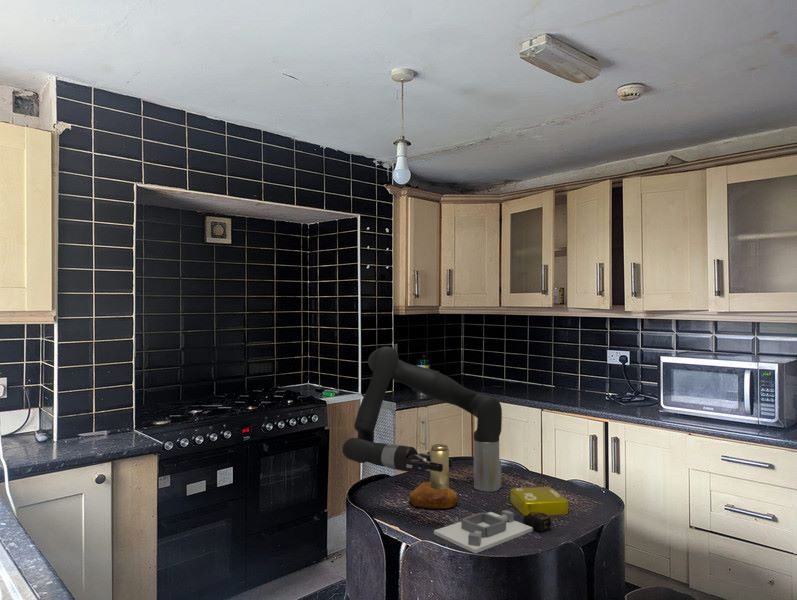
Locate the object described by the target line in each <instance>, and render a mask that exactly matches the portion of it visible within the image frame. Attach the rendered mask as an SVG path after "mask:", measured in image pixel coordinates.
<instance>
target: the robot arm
mask: <svg viewBox="0 0 797 600" xmlns="http://www.w3.org/2000/svg"><path fill="white" fill-rule="evenodd" d="M399 358H400V357H399V354H398V352H397V350H396V349H395V348H393V347H392V346H386V345H385V346H380V347H379V348H377V349H375V350H374V351H372V352H371V353H370V354H369V356H368V359H367V364H368V367H369V369H370V370H371V371H372V375H371V378H370V382H369V385H368V388H367V390H366V392H365V394H364V396H363V399H361V402H360V405H359V408H358V411H357V415H356V418H355V419H354V420H355V421H354V425H353V427H354V430H355V431H356V433H357V437H351V438H348V439H346V441H344V443H343V445H342V448H341V449H342V454H343V456H344V457H345V458H346V459H348V460H350V461H354V462H356V463H357V464H358V463H359V464H364V463H369V464H372V465H375V466H380V467H384V468H385V467H386V468H387V469H391V470H396V471H401V472H407V473H412V472H421V473H425V472H427V471H428V472H430V470H433V471H438V472H442V471H443V464H440V463H434V462H430V451H427V452H426V453H425V452H419V453H418V451H417V449H416V448H415V447H413V446H409V445H401V444H396V443H393V444H391V443H383V442H376V441H375V429H376V426H377V422H378V419H379V415H380V412H381V409H382V405H383V401H384V399H385V395H386V392H387V389H388V387H389V386H390V385H389V384H390V381H391V380H395V381H396V382H399V383H401V384H403V385H405V386H408V387H409V388H411V389H413V390H415V391H417V392H419V393H421V394H422V395H425V396H427V397H430V398H432V399H434V400H436V401H439V402H442V403H445V404H450V405H453V406H456V407H457V408H460V409H461V410H464V411H466V412H467V413H469V414H470V415H473V417H475V418H477V422H476V423H477V424H476V430H475V431H474V432H473V488H474V489H475V490H477V491H481V492H496V491H497V492H498V490H500V488H502V461H501V460H500V436H501V433H502V426H503V425H502V422H503V419H502V418H503V414H502V413H503V409H502V404H501V403H500V401H499V400H498V399H497V398H496V397H494V396H490V395H488V394H485V393H482V392H481V393H480V392H477V391H474V390H472V389H469V388H466V387H464V386H463V385H461V384H460V383H458V382H457V381H456V380H454V379H453V378H451V377H450V376H447V375H446V374H444V373H441V372H439V371H436V370H434V369H431V368H427V367H424V366H418V365H414V364H410V363H408V362H405V361H404V360H402V359H399ZM453 463H454V462H453V459H451V458H449V468H451V467H453Z"/></svg>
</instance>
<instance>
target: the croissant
mask: <svg viewBox="0 0 797 600" xmlns="http://www.w3.org/2000/svg"><path fill="white" fill-rule="evenodd" d="M408 499H409V501H410V502H411V505H412V506H414V507H416V506H417V507H416V508H424V509H451V508H452V507H456V505H457V503H458V494H457V492H456V491H455V490H454V489H451V488H450V487H449V488H447V489H443V490H437V489H433V488H431V487H430V481H426V482H421V483H420V484H419V485H418V486H417V487H415V489H413V490H412V491H411V492H410V494H409V496H408Z"/></svg>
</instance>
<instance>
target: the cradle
mask: <svg viewBox="0 0 797 600" xmlns="http://www.w3.org/2000/svg"><path fill="white" fill-rule="evenodd" d="M533 531H534V528H533V527H530V526H528V525H525V524H524V523H522V522H519V521H516V520H515V512H512V511H511V510H507V509H505V510H501V514H498V513H495V512H492V511H489V512H486V511H485V512H484V511H483V512H478V513H475V514H472V515H468V516H465V517H463V518H462V519H461V521H459V522H455V523H453V524H451V525H446V526H444V527H441V528H437V529H435V530H433V535H435V536H437V537H439V538H441V539H444V540H445V541H447V542H450V543H452V544H454V545H456V546H458V547H460V548H463V549H464V550H467V551H469V552H471V553H473V554H478V553H480V552H482V551H485V550H488V549H491V548H493V547H496V546H499V545H500V544H503V543H506V542H509V541H511V540H513V539H517V538H519V537H521V536H523V535H526V534H528V533H531V532H533Z"/></svg>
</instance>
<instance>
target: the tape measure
mask: <svg viewBox="0 0 797 600" xmlns="http://www.w3.org/2000/svg"><path fill="white" fill-rule="evenodd" d="M550 516H551V515H547V514H545V513H542V512H532V513H530V514H528V515H524V516H523V519H522V520H523V523H522V524H525V525H528V526H530V527H533V530H536V531H539V532H543V531H545V530H549V529H550V527H551V525H552V519H551V517H550Z"/></svg>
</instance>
